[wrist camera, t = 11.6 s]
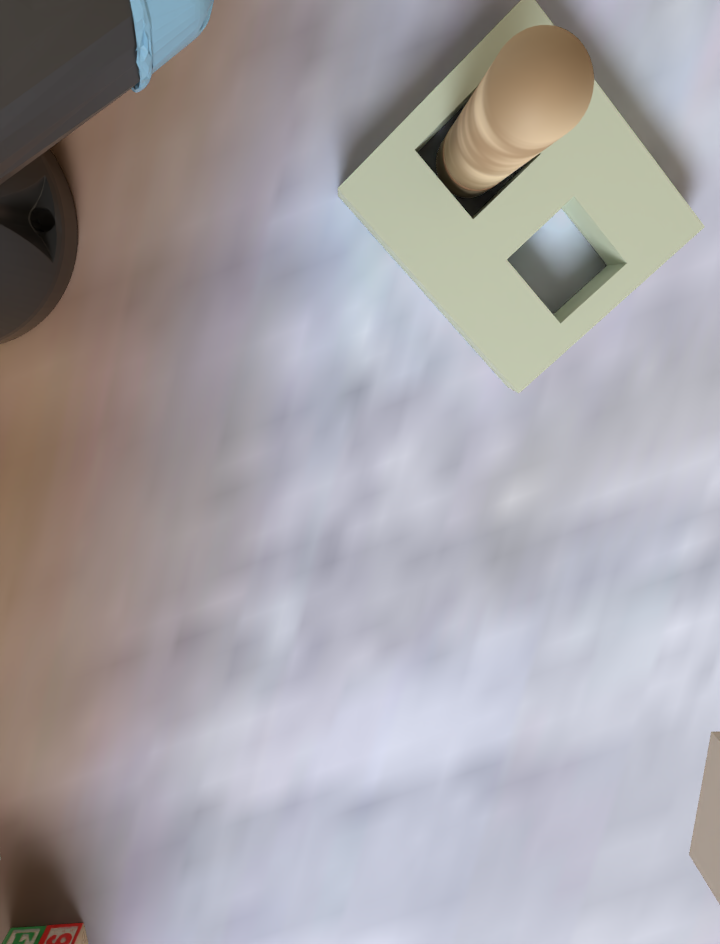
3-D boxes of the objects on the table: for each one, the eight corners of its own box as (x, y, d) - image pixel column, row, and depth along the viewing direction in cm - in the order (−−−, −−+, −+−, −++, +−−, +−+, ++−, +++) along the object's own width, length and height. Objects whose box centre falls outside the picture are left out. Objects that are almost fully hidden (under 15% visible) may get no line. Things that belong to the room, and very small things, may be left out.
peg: (421, 160, 39) (466, 82, 25) (472, 109, 38) (549, -2, 24) (465, 213, 40) (534, 166, 25) (515, 163, 39) (615, 87, 25)
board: (338, 196, 40) (337, 188, 37) (514, 15, 37) (528, -9, 34) (507, 386, 43) (518, 393, 40) (679, 231, 40) (704, 226, 38)
